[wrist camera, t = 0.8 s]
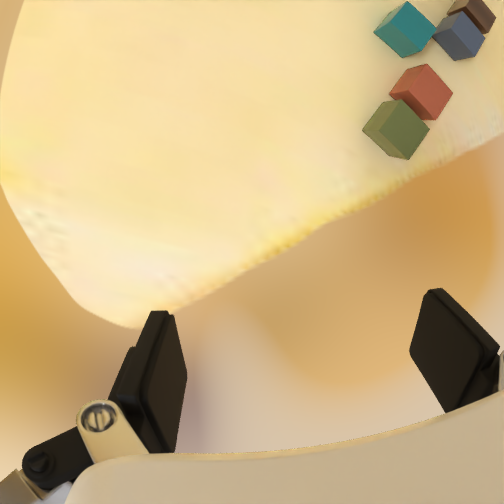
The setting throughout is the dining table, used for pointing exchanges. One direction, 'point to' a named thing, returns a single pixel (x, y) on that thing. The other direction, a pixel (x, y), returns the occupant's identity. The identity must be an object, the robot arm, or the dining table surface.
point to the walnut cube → (475, 13)
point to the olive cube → (396, 129)
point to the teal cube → (405, 30)
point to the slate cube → (459, 36)
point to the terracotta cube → (422, 92)
